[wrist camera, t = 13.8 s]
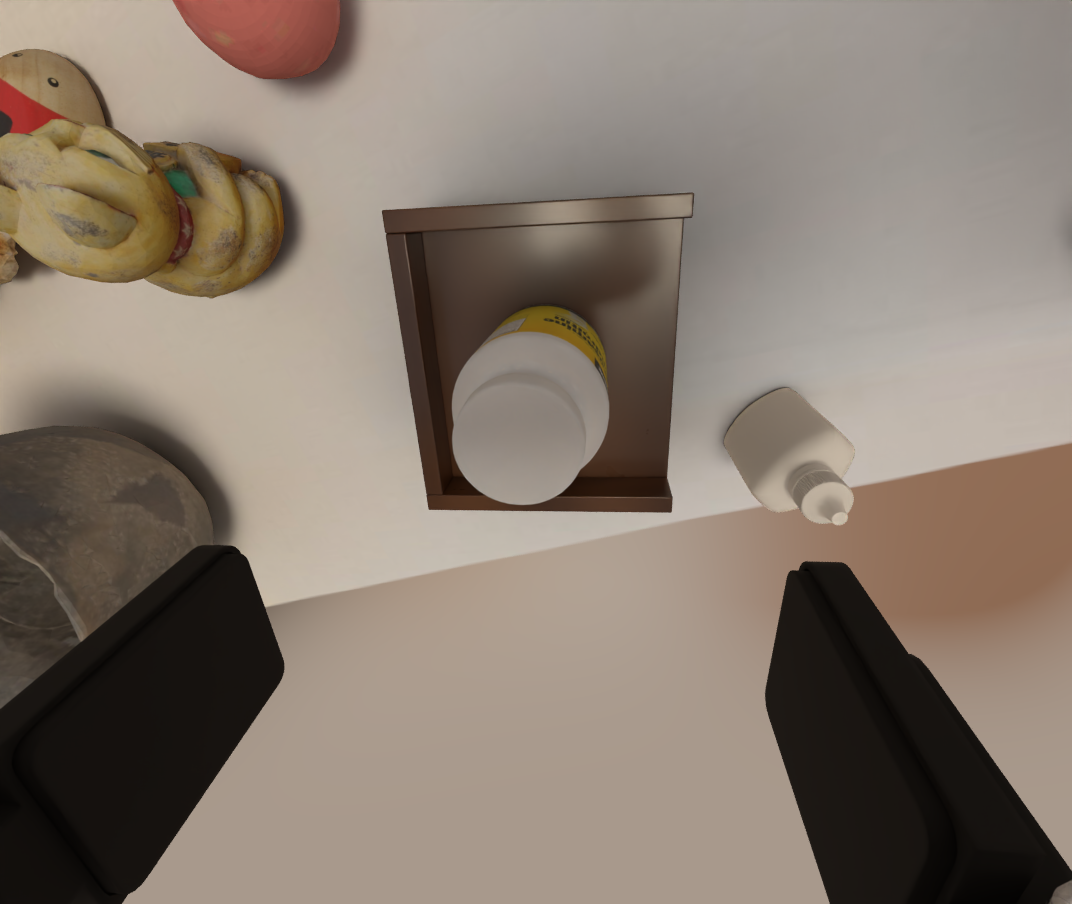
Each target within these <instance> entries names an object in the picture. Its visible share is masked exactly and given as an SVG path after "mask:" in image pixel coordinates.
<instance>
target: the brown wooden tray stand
mask: <svg viewBox="0 0 1072 904" xmlns="http://www.w3.org/2000/svg"><path fill="white" fill-rule="evenodd" d="M693 204H694V193H676V194H658V195H640V196H623V197H605V198H588V199H570V200H553V201H535V202H518V203H500V204H483V205H465V206H448V207H430V208H413V209H395V210H383V211H382V215H383V221H384V227H385V233H387V234H386V239H387V246H388V252H389V258H390V265H391V271H392V278H393V284H394V290H395V297H396V303H397V309H398V316H399V322H400V328H401V335H402V341H403V347H404V354H405V360H406V366H407V373H408V379H409V386H410V392H411V398H412V405H413V411H414V417H415V424H416V430H417V436H418V443H419V449H420V455H421V462H422V468H423V475H424V481H425V487H426V493H427V501H428V508H429V510H496V511H583V512H669V513H671V512H672V499H673V497H672V494H671V490H670V486H669V483H668V479H667V469H668V454H669V439H670V423H671V408H672V392H673V377H674V361H675V346H676V331H677V315H678V300H679V284H680V269H681V254H682V238H683V223H684V218H692V216H693ZM541 304H551V305H557V306H562V307H565V308H567V309H570V310H572V311H574V312H576V313H577V314H579V315H580V316H582V317H583V318H584V319H586V320H587V321H588V322H589V323H590V324H591V326H592V327H593V328H594V330H595V331H596V332H597V334H598V336H599V338H600V340H601V342H602V344H603V347H604V351H605V355H606V366H607V383H608V396H609V421H608V427H607V431H606V434H605V437H604V440H603V442H602V444H601V446H600V448H599V449H598V451H597V452H596V454H595V455H594V457H593V458H592V459H591V460H590V461H589V462H588V463H587V464H586V465H585V466H584V467H583V468H582V469H580V471H579V473H578V475H577V476H576V478H575V479H574V481H573V482H572V483H571V484H570V486H569V487H567V488H566V489H565V490H564V491H563V492H562V493H560V494H559V495H557V496H555V497H553V498H551V499H549V500H547V501H544V502H541V503H537V504H531V505H529V504H528V505H515V504H508V503H503V502H500V501H497V500H494V499H492V498H490V497H488V496H486V495H485V494H483V493H481V492H480V491H478V490H477V489H476V488H475V487H474V486H473V485H472V484H471V483H470V482H469V481H468V480H467V479H466V478H465V476H464V475H463V473H462V472H461V470H460V469H459V467H458V464H457V462H456V460H455V456H454V453H453V446H452V434H453V428H454V422H453V416H452V397H453V391H454V387H455V384H456V381H457V378H458V376H459V374H460V372H461V370H462V369H463V367H464V366H465V364H466V363H467V361H468V360H469V359H470V358H471V356H472V355H473V354H474V353H475V352H476V351H477V350H478V349H479V348H480V346H481V345H482V344H483V343H484V342H485V341H486V340H487V339H488V338H489V337H490V336H491V334H492V333H493V332H494V331H495V330H496V329H497V328H498V327H499V326H500V325H501V324H502V323H503V322H504V321H505V320H506V319H507V318H508V317H509V316H511V315H512V314H514V313H515V312H517V311H519V310H521V309H524V308H526V307H530V306H534V305H541Z"/></svg>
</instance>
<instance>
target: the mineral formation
mask: <svg viewBox="0 0 1072 904" xmlns="http://www.w3.org/2000/svg"><path fill="white" fill-rule="evenodd" d="M16 254H18V253H17V251H16V250H15V240H14V239H13V238H12V237H11V236H10V235H9V234H8V233H4V232H0V284H3V283H7V282H11V280H12V277H14V276H15V275H16V274H17V271H18V268H19V266H18V264H17V262H16V260H15V257H14V256H15V255H16Z"/></svg>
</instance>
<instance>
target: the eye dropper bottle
mask: <svg viewBox="0 0 1072 904" xmlns="http://www.w3.org/2000/svg"><path fill="white" fill-rule="evenodd" d="M724 446H725V448H726V450H727V451H728V453H729V455H730V457H731V459H732V460H733V462H734V464H735V466H736V467H737V469H738V471H739V473H740V474H741V476H742V478H743V480H744V481H745V483H746V485H747V487H748V488H749V490H750V491H751V493H752V494H753V496H754V497H755V498H756V499H757V500H758V501H759V502H760V503H761V504H762V505H764V506H765V507H766V508H767V509H769V510H770V511H773V512H786V511H790V510H794V509H797V508H799V509H800V511H801V512H802V514H803V515H804V516H805V517H806V518H807V519H808V520H810V521H812V522H815V523H820V524H826V523H834V524H836V525H842V524H844V523H846V521H847V520H848V516H847V513H848V512H849V511H850V509H851V507H852V504H853V499H854V498H853V493H852V491H851V489H850V488H849V487H848V486H847V485H846V484H845V483H844V481H843V480H842V477H843V476H844V474H845V473H846V471H847V470H848V468H849V466H850V464H851V462H852V460H853V458H854V454H855V449H854V447H853V445H852V444H851V442H850V441H849V440H848V439H847V438H846V437H845V436H844V435H843V434H842V433H841V432H840V431H839V430H838V429H837V428H836V427H834V426H833V425H832V424H831V423H830V422H829V421H828V420H827V419H826V418H825V417H823V416H822V415H821V414H820V413H819V412H818V411H817V410H816V409H814V408H813V407H812V406H811V405H810V404H809V403H808V402H807V401H805V400H804V399H803V398H802V397H801V396H800V395H799V394H798V393H796V392H795V391H794V390H792V389H790V388H782V389H779V390H776V391H774V392H771V393H769V394H767V395H765V396H763V397H762V398H760V399H758V400H757V401H755V402H754V403H752V404H751V405H750V406H749V407H747V408H746V409H745V410H744V411H743V412H742V413H741V414H740V415H739V416H738V417H737V419H736V420H735V421H734V422H733V424H732V425H731V427H730V428H729V430H728V432H727V434H726V436H725V438H724Z"/></svg>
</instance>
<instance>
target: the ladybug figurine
mask: <svg viewBox="0 0 1072 904" xmlns="http://www.w3.org/2000/svg"><path fill="white" fill-rule="evenodd" d="M51 119H70V120H75V121H79V122H81V123H86V122H89V123H94V124H99V125H103V126H106V125H105V120H104V116H103V113H102V109H101V107H100V104H99V101H98V99H97V97H96V95H95V93H94V91H93V89H92V87H91V86H90V84H89V82H88V81H87V79H86V78H85V77H84V75H83V74H82V73H81V72H80V71H79V70H78V69H77V68H76V67H75V66H74V65H73V64H72V63H70V62H69V61H67V60H66V59H64V58H63V57H61V56H59V55H57V54H55V53H52V52H49V51H46V50H39V49H26V50H20V51H16V52H12V53H9V54H7V55H5V56H3V57H1V58H0V138H1V137H2V136H4V135H5V134H7V133H20V134H24V133H25V134H29V133H31V132H33V131H35V130H36V129H38V128H40V127H42V126H43V125H45V124H47V123H48V122H49V121H50V120H51Z"/></svg>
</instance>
